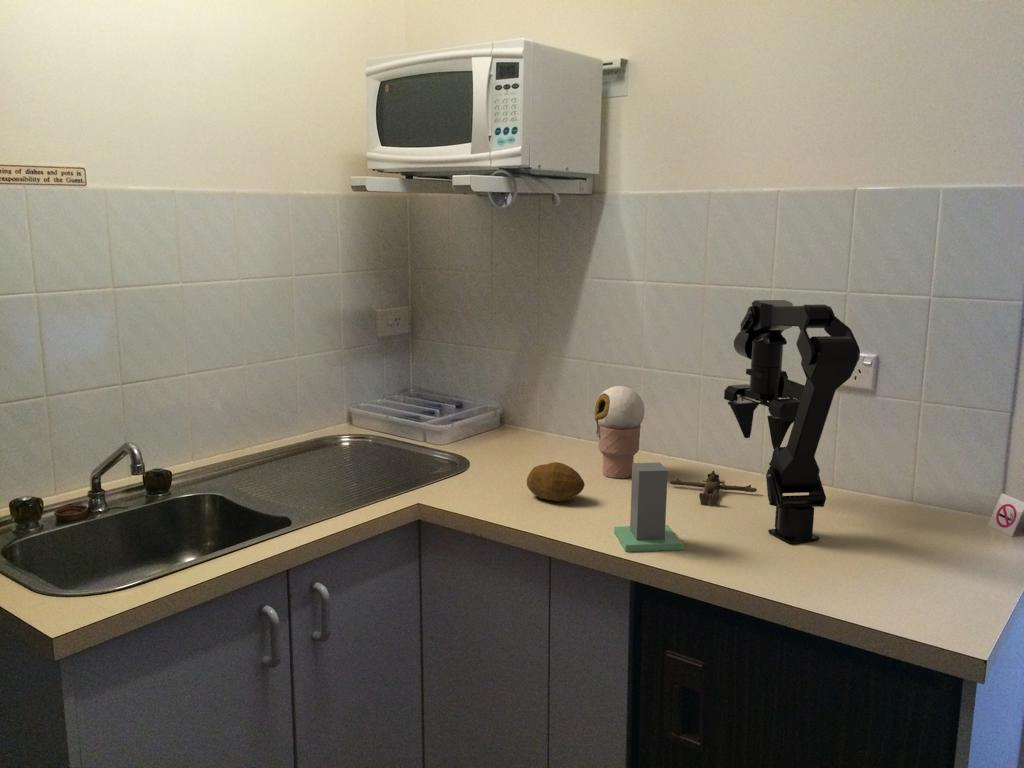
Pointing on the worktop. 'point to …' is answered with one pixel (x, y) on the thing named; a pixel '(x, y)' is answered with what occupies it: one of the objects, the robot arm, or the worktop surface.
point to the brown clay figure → (712, 488)
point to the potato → (554, 482)
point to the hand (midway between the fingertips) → (761, 443)
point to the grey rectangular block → (648, 501)
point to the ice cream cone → (618, 429)
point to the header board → (647, 541)
